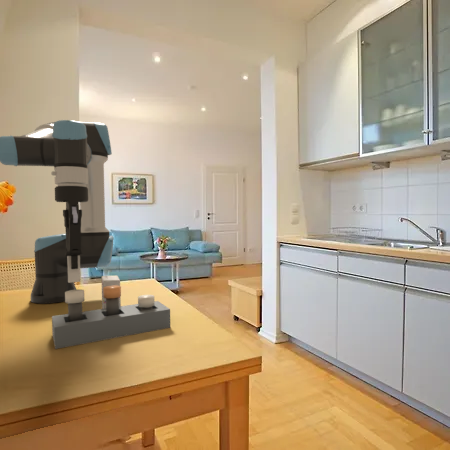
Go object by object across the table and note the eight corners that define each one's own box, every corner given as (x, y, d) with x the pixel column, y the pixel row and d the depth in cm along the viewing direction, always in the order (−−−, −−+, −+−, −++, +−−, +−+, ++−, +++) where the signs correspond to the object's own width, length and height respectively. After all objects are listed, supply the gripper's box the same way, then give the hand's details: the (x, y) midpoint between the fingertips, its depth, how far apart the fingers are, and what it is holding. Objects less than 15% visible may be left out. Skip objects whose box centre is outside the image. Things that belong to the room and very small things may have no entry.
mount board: (52, 335, 89) (51, 316, 88) (158, 317, 102) (158, 300, 102) (55, 348, 80) (54, 327, 80) (170, 327, 94) (170, 309, 94)
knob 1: (65, 320, 87) (64, 290, 87) (83, 317, 90) (82, 288, 89) (66, 324, 84) (65, 294, 83) (86, 321, 86) (85, 292, 85)
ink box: (121, 319, 101) (120, 279, 101) (103, 321, 100) (102, 280, 99) (118, 311, 109) (117, 274, 109) (101, 313, 107) (100, 275, 107)
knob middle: (102, 314, 92) (101, 286, 92) (119, 311, 94) (118, 284, 94) (105, 318, 88) (104, 289, 88) (123, 316, 90) (122, 287, 90)
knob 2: (136, 322, 96) (136, 296, 96) (152, 319, 99) (151, 293, 98) (141, 326, 93) (140, 299, 92) (157, 324, 95) (156, 297, 95)
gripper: (52, 187, 89) (55, 278, 90) (56, 183, 78) (59, 288, 79) (84, 188, 93) (86, 276, 94) (92, 184, 81) (94, 284, 82)
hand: (74, 281), depth 86 cm, fingers closed
